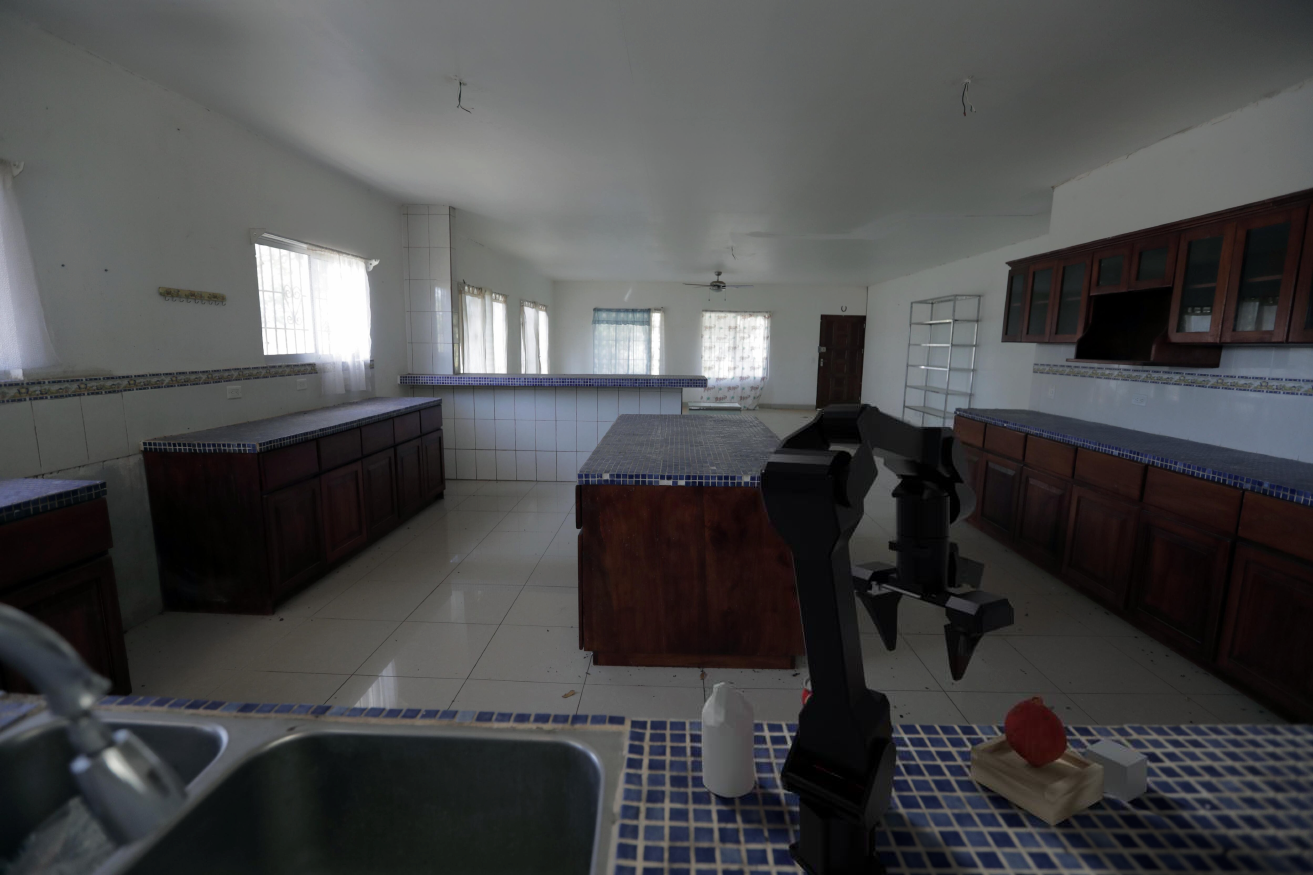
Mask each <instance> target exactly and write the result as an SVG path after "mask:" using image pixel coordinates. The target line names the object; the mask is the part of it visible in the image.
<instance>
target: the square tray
mask: <svg viewBox="0 0 1313 875" xmlns="http://www.w3.org/2000/svg"><path fill="white" fill-rule="evenodd" d="M1103 768H1104V767H1103V766H1101V765H1099V764H1097V763H1094V762H1092V761H1090V760H1088V759H1086V757H1084V756H1082V755H1079V754H1078V753H1075V752H1073V751H1072V750H1070V749H1067V748H1066V750H1065V752H1064V753H1063V755H1062V756H1061V757H1060V758H1059V759H1058V760H1056V761H1054V762H1051V763H1048V764H1045V765H1043V766H1041V767H1034V766H1033V765H1031V764H1030V763H1029V762H1027V761H1026V760H1025V759H1023V758H1022V757H1021V756H1019V755H1018V754H1017V753H1016V751H1015V750H1014V749H1013V748H1012V747H1011V746H1010V745H1009V743H1008V741H1007V739H1006V737H1005V733H1003V734H1000V735H998V736H995V737H993V738H991V739H988V740H985V741H983V742H980V743H978V744H976V745H974V746H971V747H970V778H971V779H973V780H974V781H976V782H978V783H979V784H981V785H982V786H985V787H987V789H989V790H991V791H993V792H995V793H997V794H998V795H1000V796H1001V797H1003V798H1005V799H1007V801H1010V802H1011V803H1013V804H1014V805H1017V806H1018V807H1020V808H1021V809H1023V810H1025V811H1026V812H1028V813H1030V814H1031V815H1033V816H1035V817H1037V818H1039V819H1040V820H1042V821H1043V822H1045V823H1047V824H1048V825H1050V826H1051V827H1054V826H1056V825H1057V824H1060V823H1061V822H1063V821H1065V820H1067V819H1069V818H1071V817H1072V816H1074V815H1076V814H1077V813H1079V812H1081V811H1084V810H1085V809H1086V808H1089V807H1091V806H1092V805H1093V804H1095V803H1097V802H1099V801H1101V800H1102V799H1104V791H1103Z"/></svg>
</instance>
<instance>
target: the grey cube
mask: <svg viewBox="0 0 1313 875" xmlns="http://www.w3.org/2000/svg"><path fill="white" fill-rule="evenodd" d="M1085 758H1086V759H1088V760H1090V761H1092V762H1094V763H1097V764H1099V765H1101V766H1103V767H1104V768H1103V792H1105V793H1107V794H1109V795H1111V796H1113V797H1115V798H1116V799H1119V800H1120V801H1122V802H1125V803H1126V804H1127V803H1128V802H1129V803H1130V802H1131V801H1132V800H1134V799H1136V798H1137V797H1140V795H1143V794H1144V793H1146V792H1147V791H1148V788H1147V787H1148V755H1145V754H1143V753H1140V752H1138V751H1136V750H1133V749H1131V748H1129V747H1127V746H1125V745H1122V744H1120V743H1117V742H1116V741H1113V740H1110V739H1108V738H1104V739H1101V740H1099V741H1097V742H1096V743H1094V744H1091V745H1090V746H1089V745H1088V747H1085Z"/></svg>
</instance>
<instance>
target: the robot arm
mask: <svg viewBox="0 0 1313 875" xmlns="http://www.w3.org/2000/svg"><path fill="white" fill-rule="evenodd" d="M956 435H957V433H956V431H955V429H953V428H952V427H951V426H916V425H913V424H910V423H909V422H906V421H904V420H903V419H902V420H901V419H899V418H897V417H894V416H892V415H890V414H887V413H886V412H882V411H881V410H880V409H879V407H877V406H876V405H872V404H870V403H837V404H836V403H833V404H832V403H831V404H828V406H823V407H822V408H821V409H820V410H819V411H818V413H817V414H816V415H815V417H814V418H813V419H812V420H811V421H810V422H808V423H806V424H805V425H803V426H802V427H800V428H798V429H797V430H795V431H793V432H792V433H790V434H789V435H786V437H784V438H783V439H781V441H780V442H779V443H778V444H777V446H776V447H775V448H774V450H773V451H772V453H771V454H770V456H769V457H768V458H767V459H766V461H765V462H764V463H763V464H762V467H761V468H760V472H759V476H758V478H759V479H758V480H759V481H758V483H759V486H758V487H759V488H760V494H761V497H762V502H763V506H764V509H765V513H766V517H767V519H768V523H769V525H770V526H771V528H773V530H774V531H775V533H777V535H778V536H779V538H780V539H781V540H782V541H783V543H784V545H785V546H787V548H788V549H789V550H790V553H791V558H792V566H793V572H794V578H795V585H796V586H795V587H796V594H797V600H798V607H799V613H800V620H801V627H802V628H801V629H802V636H803V642H804V648H805V657H806V663H807V669H808V676H809V677H810V684H811V695H810V697H809V698H808V700H807V701H806V703H805V705H804V706H803V705H802V708H801V710H800V712H799V713H798V728H797V729H796V733H795V735H794V737H793V740H792V742H791V745H790V748H789V750H788V754H787V756H786V758H785V760H784V764H783V765H782V766H783V767H782V768H781V771H780V779H781V782H782V787H783V790H784V791H786V792H788V793H792V794H794V795H796V796H798V797H799V798H798V820H799V821H798V822H799V823H798V826H799V827H798V830H799V839H798V840H797V841H795V842H793V843H790V844H789V846H788V853H789V854H790V855H791V856H792V857H793V858H794V859H795V860H796V861H797V862H798V863H799V865H800V866H802V868H803V869H805V871H806V872H807V873H808V874H809V875H886V874H887V869H888V868H887V867H888V866H887V864H886V863H884V862H883V861H882V860H881V859H879V858H878V857H877V856H876V855H875V854H874V852H876V846H877V844H876V841H877V840H876V824H877V823H878V822H879V820H880V819H881V818H882V817H883V816H884V814H885V813H886V812H887V811H888V810H889V808H890V807H891V802H892V795H893V787H894V778H895V772H896V765H897V746H896V743H895V742H894V740H893V735H892V734H893V733H894V727H893V724H892V718H891V702H890V700H889V698H888V696H887V695H886V694H885V693H883V692H880V691H877V690H874V689H871V688H868V686H867V683H866V678H865V670H864V662H863V661H864V660H863V655H862V646H861V636H860V630H859V629H860V628H859V621H858V612H857V605H856V604H857V603H856V597H857V598H859V599H860V601H861V603H862V605H863V606H864V608H865V610H866V612H867V613H868V615H869V617H870V619H871V620H872V623H873V624H874V626H875V628H876V631H877V633H878V634H879V636H880V639H881V640H882V643H883V645H884V646H885V649H886V650H887V651H888V652H893V651H895V650H897V649H896V648H897V640H898V608H899V607H898V606H899V604H900V602H901V600H902V598H903V596H907V597H910V598H913V599H916V600H919V601H923V602H925V603H928V604H930V605H935V606H938V607H940V608H943V609H944V610H945V611H944V613H945V617H946V618H947V620H948V622H949V623H945V624H944V625H943V631H944V638H945V644H946V651H947V660H948V666H949V671H950V673H951V679H952V680H953V681H955V682H958V681H961V680H962V679H963V678H964V676H965V674H966V671H967V668H968V666H969V664H970V661H971V659H972V657H973V656H974V653H975V650H976V648H977V646H978V644H979V643H980V641H981V640H982V639H983V637H984V636H985V635H986V634H988V633H991V632H994V631H999V630H1000V629H1003V628H1006V627H1009V626H1012V625H1015V609H1014V608H1015V607H1014V606H1013V604H1012V602H1011V601H1010V600H1009V598H1008V597H1005V596H1002V595H998V594H995V593H991V592H988V591H984V590H981V585H982V580H983V577H984V572H985V568H986V564H985V563H982V562H979V561H977V560H974V559H970V558H968V557H964V556H961V555H960V547H959V545H958V542H953V541H951V540H950V538H951V537H950V536H951V535H950V534H951V532H950V530H951V529H950V527H951V525H953V524H955V523H957V522H960V521H962V520H965V519H966V518H967V517H969V516H971V514H972V513H973V512H974V511H975V508H976V505H977V495H976V493H975V490H974V489H973V487H972V486H971V485H970V484H969V483H970V482H971V474H970V470H969V466H968V462H967V459H966V455H965V452H964V451H965V450H964V448H963V443H962V440H961V438H960V437H959V436H956ZM832 446H833V447H834V446H835V447H843V448H846V449H849V450H853V451H855V453H854V454H853V455H852V454H851V453H850V452H849V451H847V450H843V449H841V450H840V449H837V450H836V449H830V448H831V447H832ZM875 457H877V458H880V459H883V462H882V464H883V466H884V467H885V468H887V469H888V470H889V471H890V472H892V473H893V474H894V475H895V476H896V477H897V479H898V480H900V482H899V483H898V484H897V485H895V486H894V488H893V489H892V491H891V497H892V499H893V498H894V499H895V531H896V532H895V539H893V540H888V550H890V551H893V552H895V553H896V557H895V558H896V559H895V565H892V564H889V563H886V562H882V561H878V560H876V561H871V562H866V563H860V564H855V565H852V564H851V555H850V554H851V553H850V540H851V538H852V536H853V534H854V533H855V531H856V529H857V527H858V525H859V524H860V523H861V520H862V519H863V516H864V514H865V501H864V500H865V498H866V497H867V495H868V493H869V492H870V490H871V488H872V486H873V485H874V483H875V481H876V479H877V477H878V476H879V470H878V469H879V468H878V466H877V463H876V460H875ZM963 585H966V586H970V588H972V589H974V590H969V591H967V592H966V591H965V592H961V593H955V592H952V591H950V589H955V590H958V589H960V588H963ZM814 765H815V766H814ZM816 766H817V767H816ZM818 767H819V768H818ZM820 768H822V769H824V770H822V769H820ZM825 770H826V771H825ZM827 771H828V772H827ZM829 772H831V773H833V774H831V773H829ZM834 774H835V775H834ZM836 775H837V776H836ZM838 776H839V777H838ZM840 777H842V778H844V779H842V778H840ZM856 784H857V785H856ZM858 785H859V786H858ZM860 786H862V787H864V788H862V787H860ZM865 788H866V789H865Z"/></svg>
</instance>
